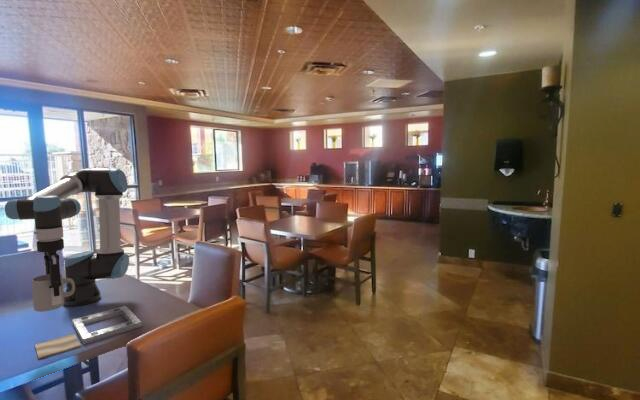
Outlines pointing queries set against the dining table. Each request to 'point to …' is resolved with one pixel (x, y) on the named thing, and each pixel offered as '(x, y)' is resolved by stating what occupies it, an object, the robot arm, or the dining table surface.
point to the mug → (47, 292)
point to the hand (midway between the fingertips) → (55, 300)
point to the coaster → (57, 346)
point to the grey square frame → (103, 333)
